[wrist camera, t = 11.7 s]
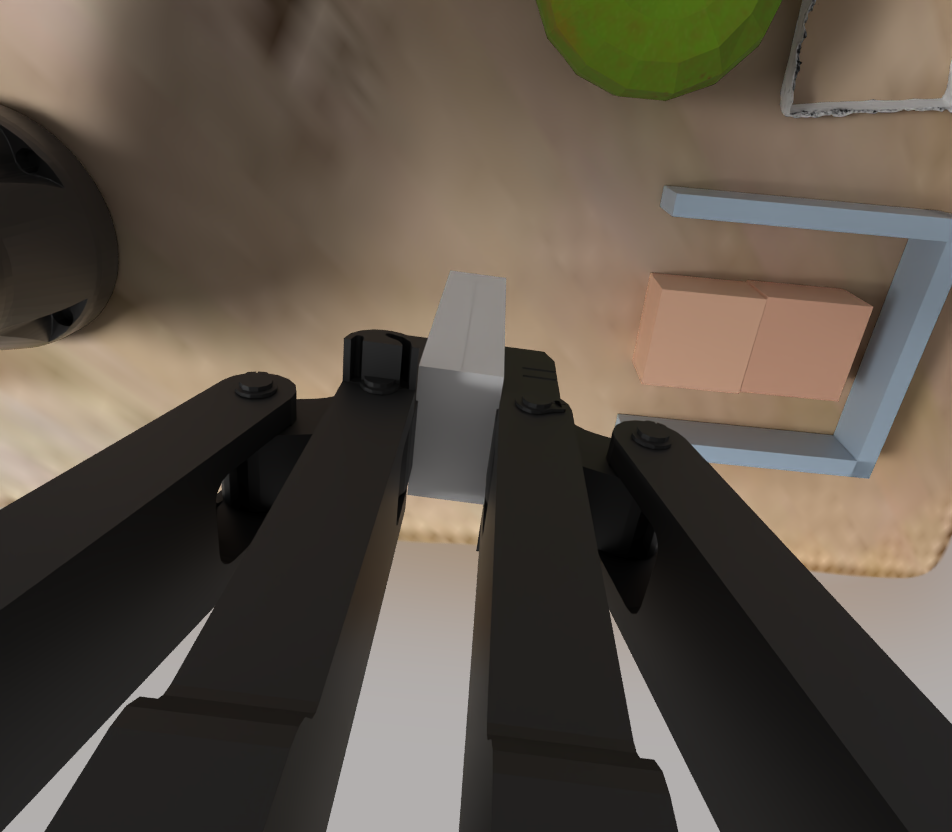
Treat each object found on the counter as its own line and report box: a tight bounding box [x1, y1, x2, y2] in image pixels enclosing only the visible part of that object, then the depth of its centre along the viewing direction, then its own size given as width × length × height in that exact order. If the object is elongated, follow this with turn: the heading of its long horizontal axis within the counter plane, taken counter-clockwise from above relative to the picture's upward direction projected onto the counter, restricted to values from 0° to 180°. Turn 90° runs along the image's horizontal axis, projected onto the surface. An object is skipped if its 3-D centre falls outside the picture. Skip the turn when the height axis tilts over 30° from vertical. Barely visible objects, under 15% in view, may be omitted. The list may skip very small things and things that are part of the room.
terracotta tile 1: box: [632, 273, 767, 394], centre depth 40 cm, size 6×6×4 cm
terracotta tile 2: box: [740, 280, 873, 401], centre depth 40 cm, size 6×6×4 cm
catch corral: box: [615, 185, 952, 479], centre depth 40 cm, size 16×16×4 cm
